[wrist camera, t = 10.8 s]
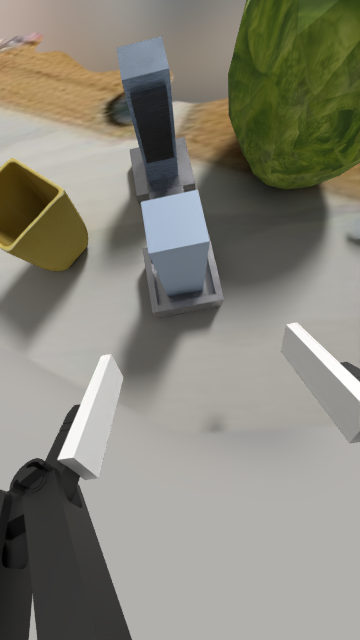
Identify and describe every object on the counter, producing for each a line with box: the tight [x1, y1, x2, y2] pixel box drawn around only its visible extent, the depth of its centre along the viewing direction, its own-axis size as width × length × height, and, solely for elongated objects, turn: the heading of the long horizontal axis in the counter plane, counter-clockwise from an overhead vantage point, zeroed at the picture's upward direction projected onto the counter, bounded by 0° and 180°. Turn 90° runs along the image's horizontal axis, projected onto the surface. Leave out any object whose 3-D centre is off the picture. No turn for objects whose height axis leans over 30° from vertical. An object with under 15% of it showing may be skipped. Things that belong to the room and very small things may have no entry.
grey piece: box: [117, 36, 224, 318], centre depth 21 cm, size 9×27×12 cm, turn 10°
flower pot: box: [0, 158, 88, 271], centre depth 23 cm, size 9×9×9 cm
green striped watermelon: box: [228, 0, 360, 190], centre depth 19 cm, size 19×23×18 cm
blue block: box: [141, 190, 210, 297], centre depth 19 cm, size 4×5×10 cm
